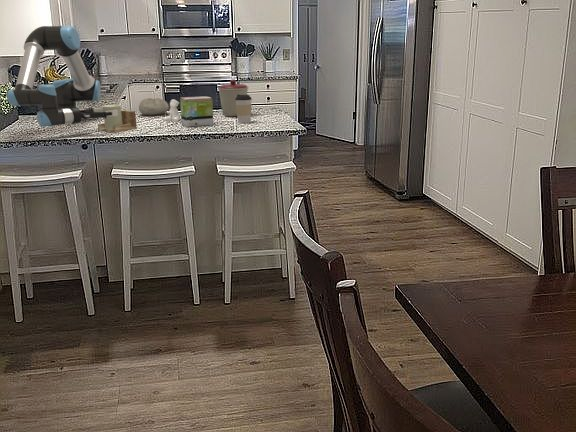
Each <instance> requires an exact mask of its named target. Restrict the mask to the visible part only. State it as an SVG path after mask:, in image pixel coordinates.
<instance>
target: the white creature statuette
mask: <svg viewBox="0 0 576 432" xmlns="http://www.w3.org/2000/svg"><path fill="white" fill-rule="evenodd" d="M179 105H180V101H177V100H176V99H175V98H174V99H171V100H170V102H169V109H168V113H169V115H167V116H165V117H163V118H162V121H163V122H164V121H166V122H170V121H171V122H172V121H173V122H172V123H178V122H179V121H181V114H180V113H179V109H178V108H177V107H178V106H179Z"/></svg>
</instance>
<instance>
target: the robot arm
mask: <svg viewBox="0 0 576 432" xmlns="http://www.w3.org/2000/svg"><path fill="white" fill-rule="evenodd" d="M80 48H81V38H80V35H79V32H78V29H76V28H75V27H74V26H72V25H43V26H42V25H41V26H39V27H37V28H35V29H34V30H32V31H31V33H30V34H29V35H28V36H27V37H26V39H25V41H24V44H23V51H24V54H23V57H22V61H21V64H20V68H19V72H18V76H17V80H16V83H15V87H14V89H9V90H7V94H6V99H7V102H8V103H9V105H11V106H16V107H20V106H40V109H41V110H38V111H37V113H36V120H37V122H38V123H37V124H38V125H39V126H41V127H42V128H43V127H55V126H63V125H65V126H68V125H71V124H80V123H81V122H82V119H83V120H87V119H104V118H106V117H109V116H118V111H117V110H112V111H105V112H103V107H99V108H93V107H90V108H86V109H81V110H80V108H78V107H77V102H97V101H99V100H100V99H101V91H102V90H101V83H100V80H97V79H96V80H95V78H94V77H93V75H90V74H89V72H88V70H87V68H86V66H85V63H84V60H83V59H82V57H81V55H80V53H79V50H80ZM45 51H55V52H56V53H57V55H58V56H60V57H62V59H63V61H64V63H65V65H66V67H67V69H68V70H69V73H70V75H71V77H70V78H64V79H58V80H54V81H52V83H51V84H39V85H38V87H37V88H34V84H35V81H36V77H37V72H38V68H39V66H40V65H39V64H40V61H41V56H43V55H44V53H45Z"/></svg>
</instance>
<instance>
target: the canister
mask: <svg viewBox="0 0 576 432" xmlns="http://www.w3.org/2000/svg"><path fill="white" fill-rule="evenodd" d="M249 88H250V87H249V86H247V85H246V84H244V83H237V80H236V79H232V78H231V79H230V81H229V83H227V84H221V85H220V86H218V87H217V90H218V93H219V99H220V106H221V111H222V114H223V115H224V116H225V117H228V118H229V117H230V118H231V117H232V118H234V117H236V118H238V116H237V110H236V100H235V99H236V97H237V95H238V94H239V95H248V94H249V93H248V92H249Z"/></svg>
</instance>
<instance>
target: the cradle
mask: <svg viewBox="0 0 576 432" xmlns="http://www.w3.org/2000/svg"><path fill="white" fill-rule="evenodd" d="M121 115H122V124H123V125H119V126H114V129H113V130H108V129H105V123H98V124H97V131H98V132H99V131H100V132H107V133H115V134H116V133H120V132H126V131H132V130H136V129H138V127H137V117H136V111H134V110H126V109H125V110H124V109H121Z"/></svg>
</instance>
